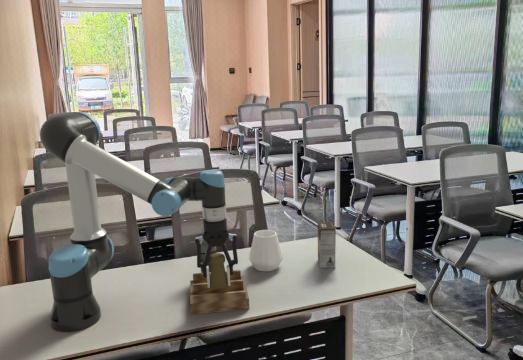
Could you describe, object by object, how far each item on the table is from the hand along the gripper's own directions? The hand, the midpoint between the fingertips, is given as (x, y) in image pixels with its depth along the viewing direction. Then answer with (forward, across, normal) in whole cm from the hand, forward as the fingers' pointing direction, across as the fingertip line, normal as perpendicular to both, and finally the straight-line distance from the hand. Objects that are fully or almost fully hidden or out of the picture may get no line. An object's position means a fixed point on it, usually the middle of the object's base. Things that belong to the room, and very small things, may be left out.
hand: (218, 284), depth 162 cm
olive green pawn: (0, 0, 0) cm, 0 cm away
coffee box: (+8, +44, +26) cm, 52 cm away
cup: (+8, +20, +28) cm, 35 cm away
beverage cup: (+7, -3, +21) cm, 23 cm away
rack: (+7, 0, +4) cm, 8 cm away
